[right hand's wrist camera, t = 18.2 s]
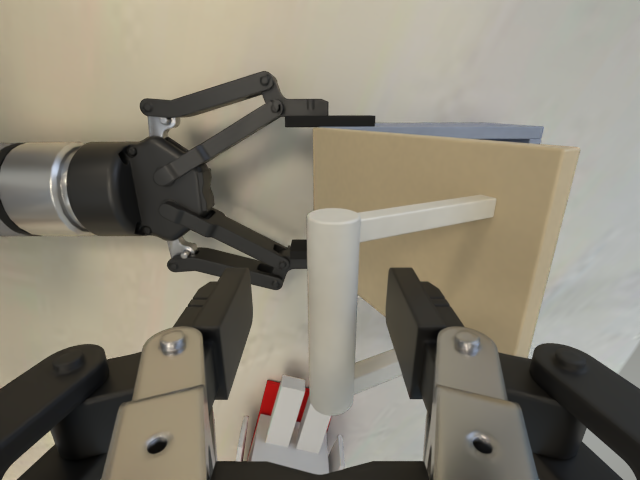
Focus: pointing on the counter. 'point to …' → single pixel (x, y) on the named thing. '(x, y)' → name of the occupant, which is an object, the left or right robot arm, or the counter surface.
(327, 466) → the toy
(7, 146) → the left robot arm
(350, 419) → the counter surface
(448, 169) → the lid
